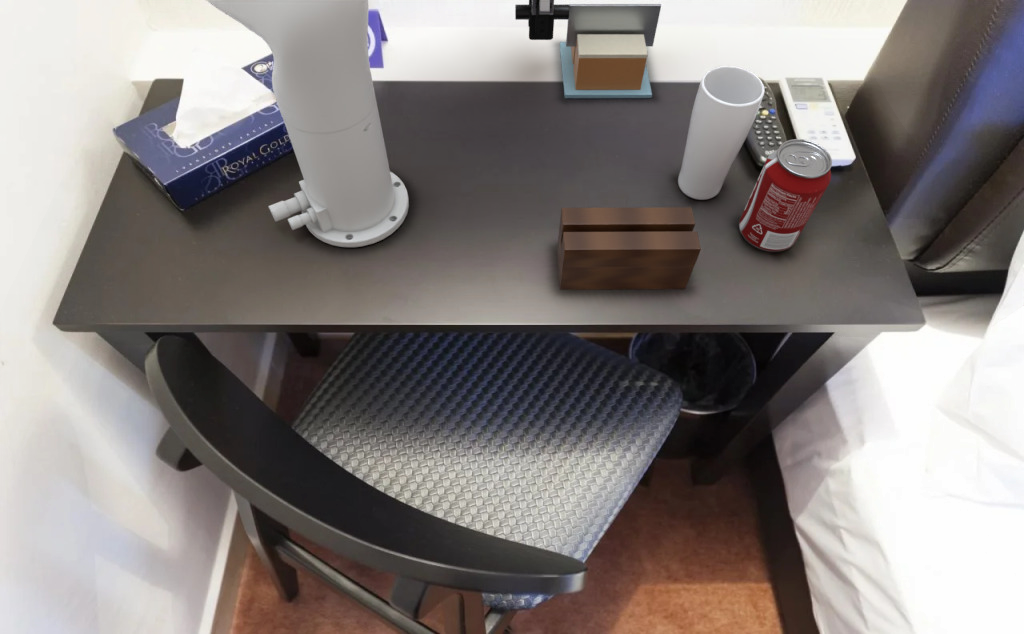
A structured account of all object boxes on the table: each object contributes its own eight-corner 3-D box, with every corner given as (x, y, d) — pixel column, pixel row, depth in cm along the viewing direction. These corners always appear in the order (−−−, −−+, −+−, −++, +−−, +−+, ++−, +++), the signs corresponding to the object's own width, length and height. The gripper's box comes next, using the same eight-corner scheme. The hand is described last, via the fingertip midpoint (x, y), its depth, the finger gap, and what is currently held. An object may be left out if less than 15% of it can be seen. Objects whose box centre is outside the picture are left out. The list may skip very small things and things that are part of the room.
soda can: (796, 260, 76) (840, 185, 66) (736, 250, 77) (771, 175, 67) (794, 216, 80) (836, 139, 70) (737, 207, 81) (770, 130, 71)
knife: (651, 41, 92) (660, 0, 87) (653, 49, 91) (662, 8, 86) (514, 42, 92) (515, 0, 87) (515, 50, 91) (515, 9, 86)
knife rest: (559, 289, 74) (564, 249, 68) (557, 249, 77) (561, 207, 71) (685, 289, 74) (701, 249, 68) (677, 248, 77) (691, 206, 71)
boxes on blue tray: (564, 98, 91) (568, 59, 86) (559, 45, 98) (563, 5, 93) (651, 98, 92) (660, 59, 86) (640, 45, 98) (648, 5, 93)
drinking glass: (668, 200, 81) (698, 100, 69) (673, 162, 85) (703, 60, 72) (724, 211, 80) (764, 110, 68) (727, 172, 84) (767, 70, 71)
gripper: (512, -149, 79) (511, -1, 94) (515, -80, 70) (513, 70, 85) (576, -148, 79) (564, -1, 94) (586, -80, 70) (571, 69, 86)
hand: (540, 31), depth 90 cm, fingers closed on knife, 1 cm apart
